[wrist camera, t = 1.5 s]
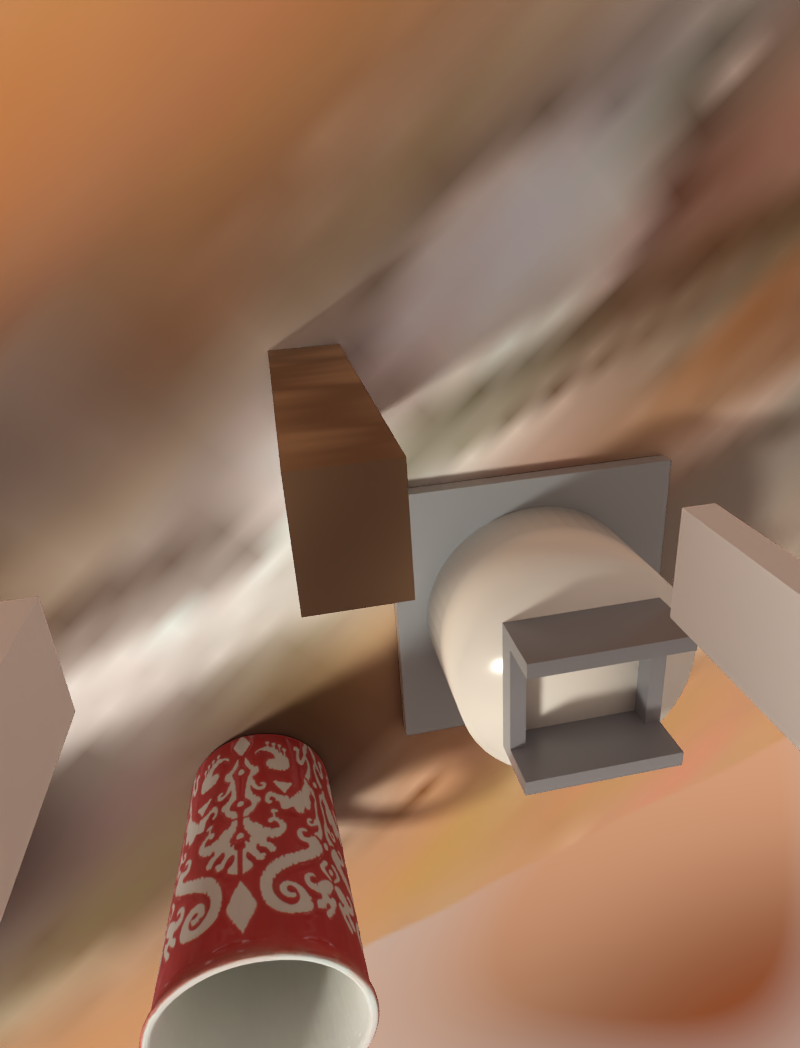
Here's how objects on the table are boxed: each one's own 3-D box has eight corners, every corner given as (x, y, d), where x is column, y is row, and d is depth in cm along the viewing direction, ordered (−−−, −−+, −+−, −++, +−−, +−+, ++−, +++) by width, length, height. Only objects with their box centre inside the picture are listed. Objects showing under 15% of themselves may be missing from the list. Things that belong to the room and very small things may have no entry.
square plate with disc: (403, 726, 40) (447, 875, 31) (385, 491, 34) (432, 593, 25) (641, 683, 42) (744, 812, 33) (662, 454, 36) (795, 537, 27)
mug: (150, 743, 37) (102, 1004, 25) (322, 698, 38) (355, 929, 26) (219, 904, 43) (206, 1182, 31) (368, 861, 44) (413, 1115, 32)
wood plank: (280, 441, 32) (301, 617, 19) (268, 350, 30) (280, 472, 17) (347, 433, 33) (415, 600, 19) (338, 343, 31) (405, 457, 17)
